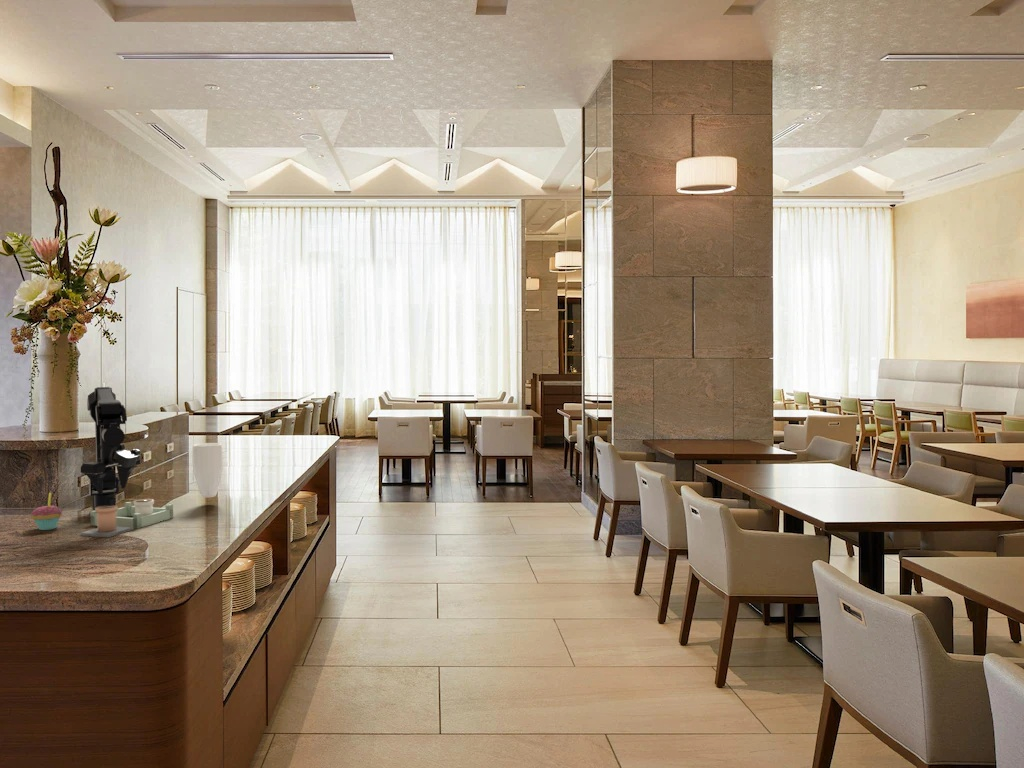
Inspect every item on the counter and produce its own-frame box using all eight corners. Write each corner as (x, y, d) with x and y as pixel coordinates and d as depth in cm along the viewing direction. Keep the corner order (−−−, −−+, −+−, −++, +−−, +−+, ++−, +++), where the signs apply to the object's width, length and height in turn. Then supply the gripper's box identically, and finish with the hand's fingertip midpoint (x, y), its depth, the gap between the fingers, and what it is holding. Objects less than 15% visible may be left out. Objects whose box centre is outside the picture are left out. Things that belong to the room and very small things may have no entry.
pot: (129, 523, 253) (129, 501, 253) (143, 519, 259) (142, 498, 259) (145, 524, 251) (144, 502, 251) (158, 520, 257) (158, 499, 257)
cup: (186, 506, 281) (185, 445, 280) (208, 500, 290) (206, 442, 289) (209, 508, 277) (208, 446, 276) (230, 502, 286) (229, 443, 285)
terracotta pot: (91, 531, 239) (90, 508, 239) (106, 527, 245) (106, 504, 244) (107, 532, 237) (106, 509, 237) (122, 528, 243) (122, 505, 243)
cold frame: (90, 525, 251) (90, 511, 251) (128, 514, 267) (128, 501, 266) (137, 528, 246) (137, 514, 246) (173, 517, 262) (172, 504, 261)
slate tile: (80, 535, 238) (80, 532, 238) (106, 528, 247) (106, 525, 247) (107, 537, 235) (107, 534, 235) (132, 529, 244) (132, 527, 244)
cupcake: (69, 526, 250) (67, 488, 249) (45, 532, 242) (43, 493, 241) (48, 524, 253) (47, 487, 252) (24, 530, 245) (23, 491, 244)
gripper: (108, 447, 236) (109, 499, 237) (153, 439, 254) (154, 487, 255) (78, 445, 239) (80, 496, 240) (125, 437, 257) (126, 484, 258)
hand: (112, 491), depth 248 cm, fingers open, 9 cm apart
